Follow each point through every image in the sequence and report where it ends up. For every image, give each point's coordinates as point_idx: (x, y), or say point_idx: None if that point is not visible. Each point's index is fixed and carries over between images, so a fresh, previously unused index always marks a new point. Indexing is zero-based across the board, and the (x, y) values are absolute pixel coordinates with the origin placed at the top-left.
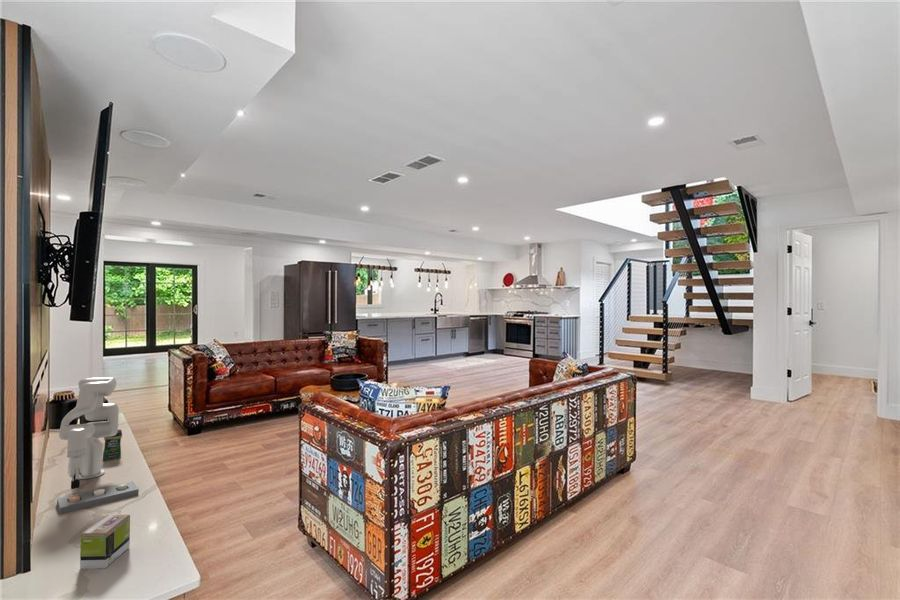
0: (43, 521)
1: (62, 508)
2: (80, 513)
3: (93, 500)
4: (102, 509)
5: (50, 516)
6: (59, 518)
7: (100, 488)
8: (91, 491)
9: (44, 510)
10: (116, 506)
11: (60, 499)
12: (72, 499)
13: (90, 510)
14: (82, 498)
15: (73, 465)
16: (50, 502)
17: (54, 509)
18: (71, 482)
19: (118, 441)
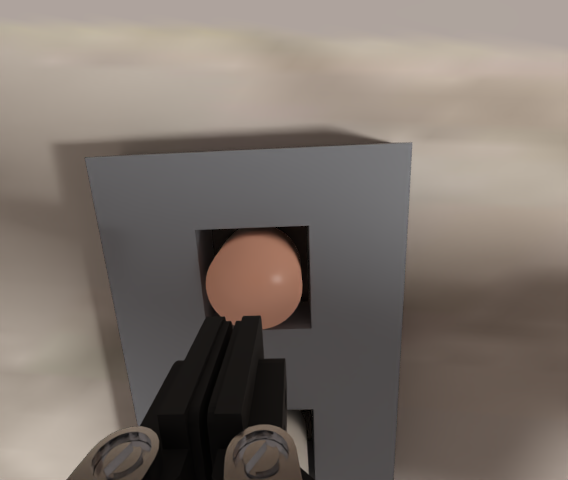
0: (13, 24)
1: (96, 176)
2: (43, 285)
3: (137, 398)
4: (42, 405)
5: (106, 83)
6: (17, 147)
7: (392, 469)
8: (371, 410)
9: (301, 37)
10: (50, 471)
11: (347, 171)
12: (223, 269)
13: (67, 344)
14: None
15: None
16: (489, 94)
17: (266, 119)
18: (173, 394)
19: None
